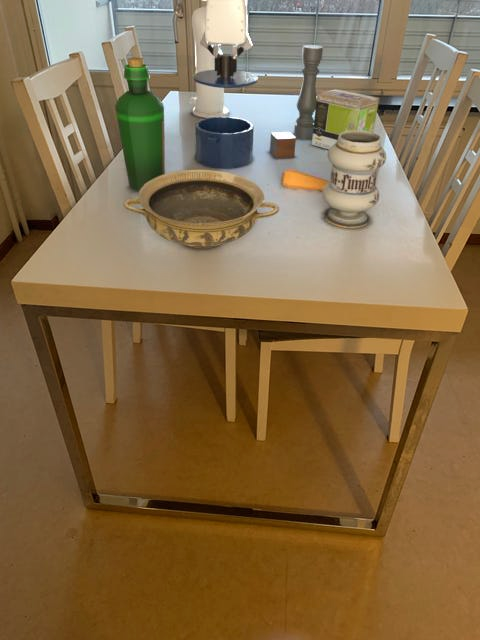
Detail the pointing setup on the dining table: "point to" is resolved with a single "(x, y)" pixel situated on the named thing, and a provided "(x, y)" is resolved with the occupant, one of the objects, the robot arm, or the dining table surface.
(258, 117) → the dining table surface
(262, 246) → the dining table surface
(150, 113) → the bottle
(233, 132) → the pot
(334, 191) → the apothecary jar
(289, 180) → the carrot
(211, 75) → the lid
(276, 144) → the block
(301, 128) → the candle holder
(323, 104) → the tea box
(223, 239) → the ceramic bowl
